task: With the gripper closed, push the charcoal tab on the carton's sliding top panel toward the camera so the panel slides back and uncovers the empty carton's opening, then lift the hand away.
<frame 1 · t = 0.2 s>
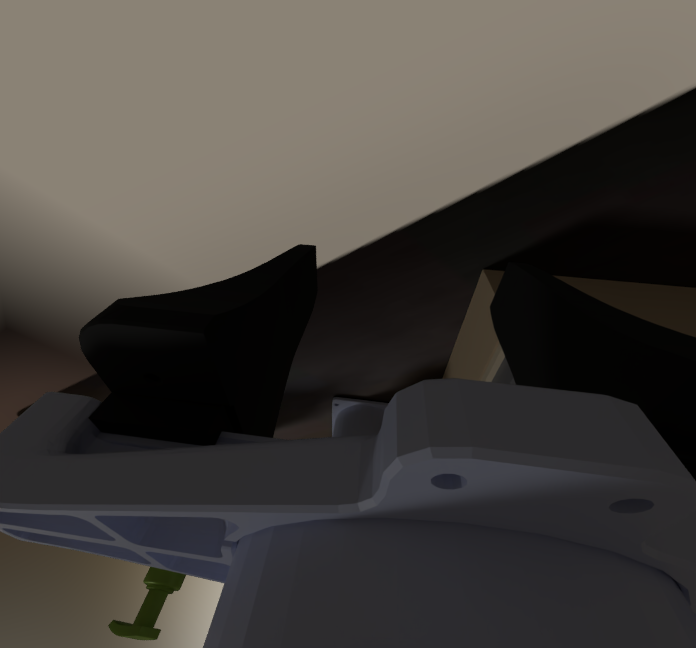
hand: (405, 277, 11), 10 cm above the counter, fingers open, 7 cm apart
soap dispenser: (232, 426, 41), on the counter
carton lid: (596, 425, 20), point 7 cm above the counter, slide at 0.0 cm
carton: (550, 349, 25), on the counter
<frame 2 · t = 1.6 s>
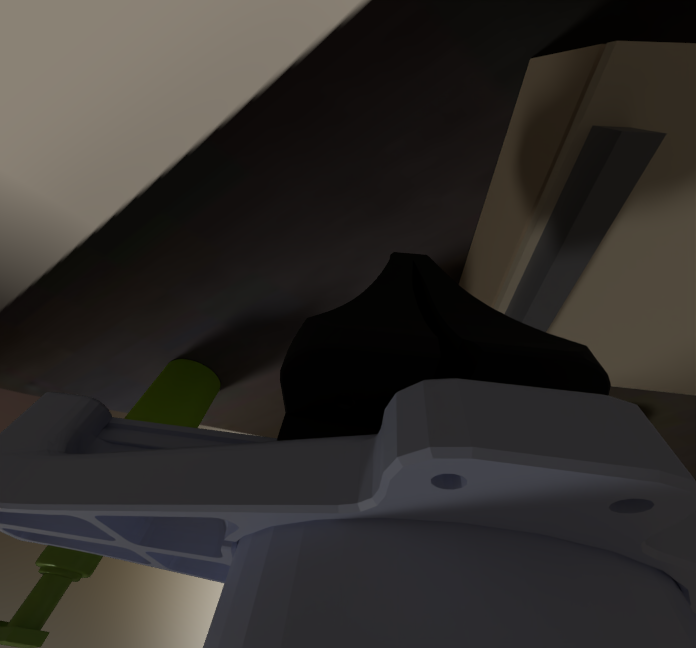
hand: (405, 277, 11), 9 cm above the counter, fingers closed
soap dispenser: (192, 377, 33), on the counter
carton: (618, 221, 18), on the counter
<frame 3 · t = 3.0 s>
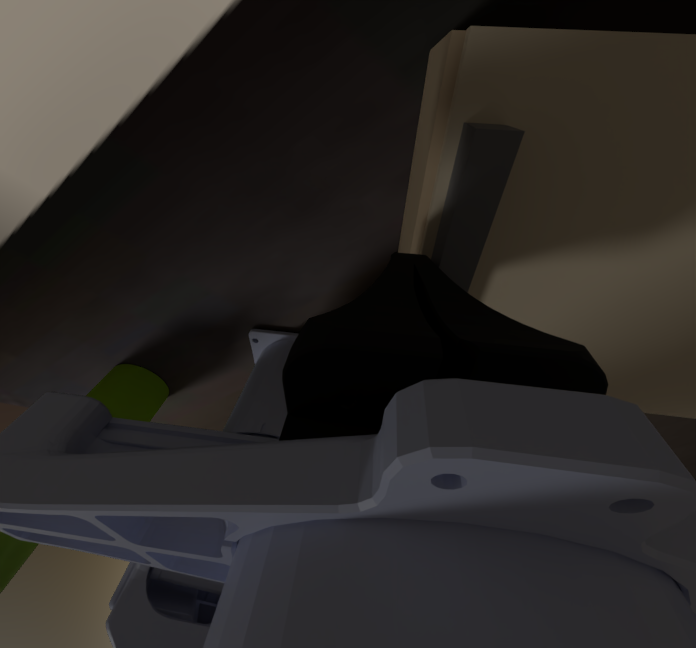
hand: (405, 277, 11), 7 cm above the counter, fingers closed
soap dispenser: (140, 382, 32), on the counter
carton lid: (635, 298, 11), point 7 cm above the counter, slide at 0.4 cm, touching gripper
carton: (546, 225, 17), on the counter
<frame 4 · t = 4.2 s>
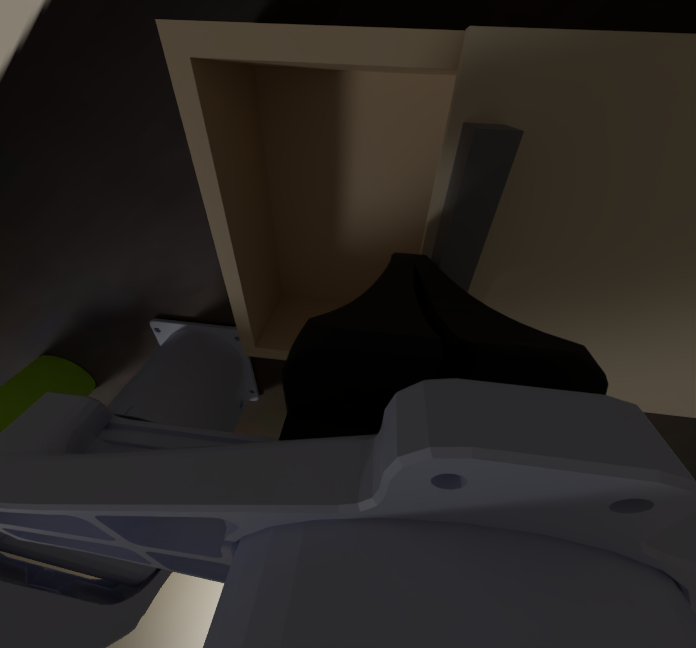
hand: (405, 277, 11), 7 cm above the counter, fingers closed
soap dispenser: (66, 374, 32), on the counter
carton lid: (635, 297, 11), point 7 cm above the counter, slide at 8.9 cm, touching gripper
carton: (394, 213, 17), on the counter
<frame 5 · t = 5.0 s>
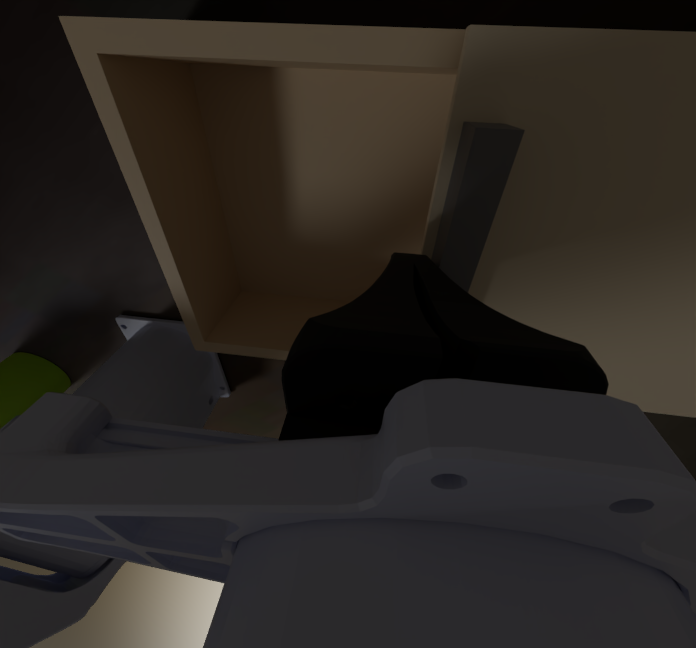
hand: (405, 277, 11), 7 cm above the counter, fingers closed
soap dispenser: (41, 371, 32), on the counter
carton lid: (637, 297, 11), point 7 cm above the counter, slide at 12.0 cm, touching gripper
carton: (342, 209, 17), on the counter
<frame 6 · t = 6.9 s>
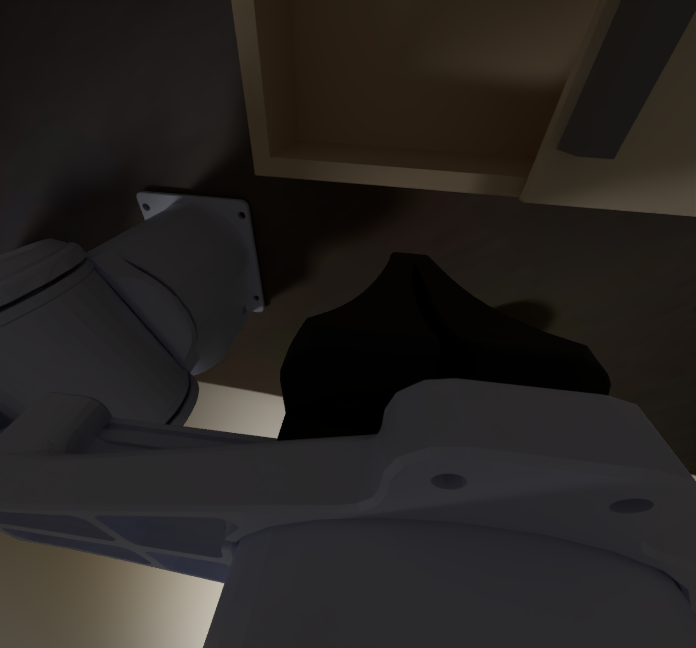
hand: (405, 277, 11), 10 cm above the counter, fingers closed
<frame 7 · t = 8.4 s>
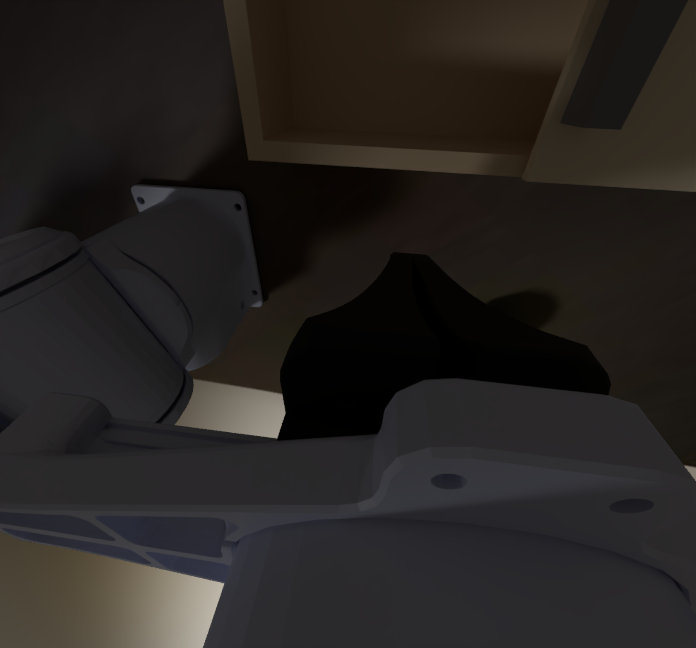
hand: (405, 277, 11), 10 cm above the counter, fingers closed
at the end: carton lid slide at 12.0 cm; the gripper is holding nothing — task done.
